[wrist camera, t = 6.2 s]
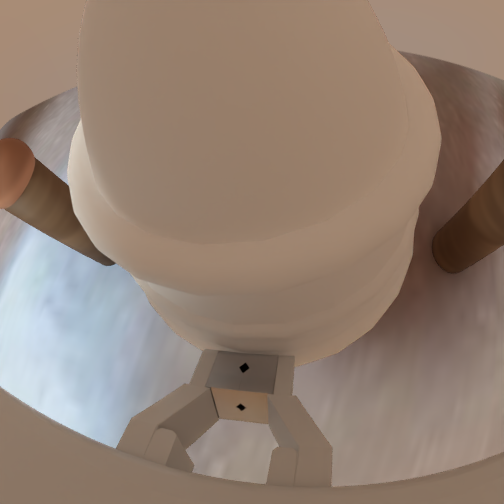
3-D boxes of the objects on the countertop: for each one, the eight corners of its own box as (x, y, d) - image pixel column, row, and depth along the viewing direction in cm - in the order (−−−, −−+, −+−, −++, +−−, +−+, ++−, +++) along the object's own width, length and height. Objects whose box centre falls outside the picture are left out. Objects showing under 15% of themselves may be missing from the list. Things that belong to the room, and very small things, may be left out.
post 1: (87, 259, 19) (-40, 184, 8) (106, 219, 20) (-7, 125, 9) (118, 275, 18) (-26, 195, 7) (138, 230, 19) (15, 123, 8)
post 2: (425, 267, 15) (555, 150, 4) (432, 219, 16) (529, 83, 5) (468, 282, 14) (605, 195, 3) (472, 234, 15) (581, 125, 4)
